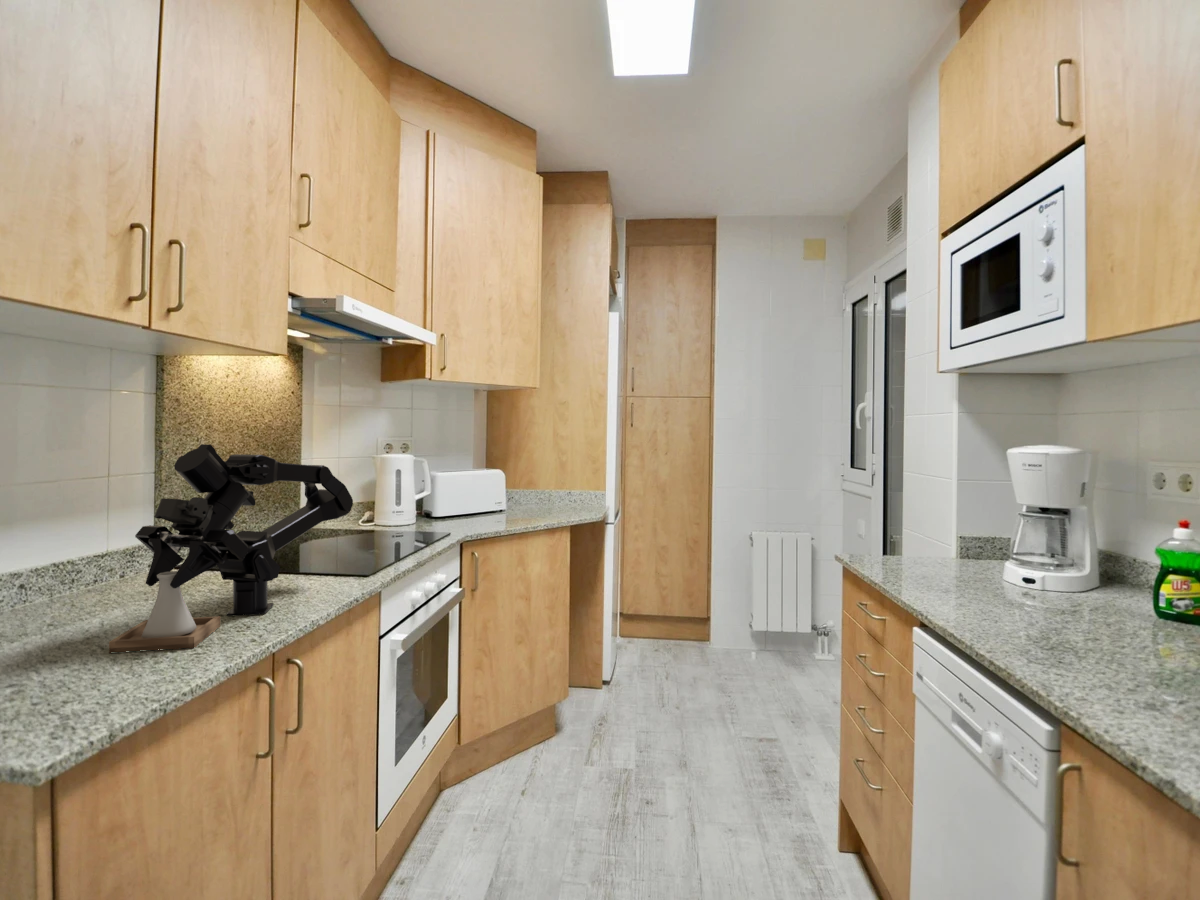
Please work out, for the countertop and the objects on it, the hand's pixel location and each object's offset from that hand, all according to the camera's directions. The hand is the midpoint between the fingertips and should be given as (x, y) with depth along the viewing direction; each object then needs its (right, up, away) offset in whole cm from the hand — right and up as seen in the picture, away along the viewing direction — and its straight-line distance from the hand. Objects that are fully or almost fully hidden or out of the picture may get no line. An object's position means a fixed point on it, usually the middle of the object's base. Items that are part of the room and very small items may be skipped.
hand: (160, 586), depth 102 cm
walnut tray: (0, -9, +2) cm, 9 cm away
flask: (0, -8, +2) cm, 9 cm away
